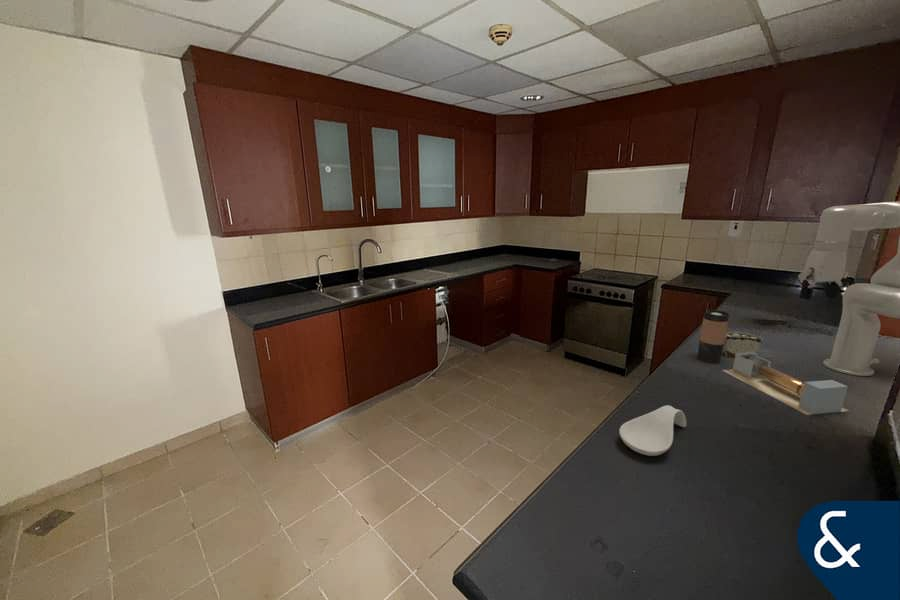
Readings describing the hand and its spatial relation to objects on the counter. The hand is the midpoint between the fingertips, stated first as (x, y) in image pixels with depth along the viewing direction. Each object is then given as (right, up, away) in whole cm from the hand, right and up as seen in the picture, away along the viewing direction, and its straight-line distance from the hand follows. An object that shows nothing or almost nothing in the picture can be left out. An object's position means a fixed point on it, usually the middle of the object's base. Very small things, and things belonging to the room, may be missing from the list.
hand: (818, 298), depth 121 cm
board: (-16, -30, -3) cm, 34 cm away
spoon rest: (-69, -38, -25) cm, 82 cm away
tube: (-16, -29, -7) cm, 34 cm away
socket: (-15, -33, -15) cm, 39 cm away
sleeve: (-17, -27, +7) cm, 33 cm away
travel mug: (-23, -25, +19) cm, 39 cm away
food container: (-9, -24, +23) cm, 34 cm away
